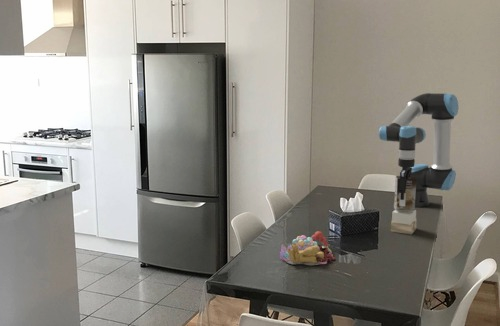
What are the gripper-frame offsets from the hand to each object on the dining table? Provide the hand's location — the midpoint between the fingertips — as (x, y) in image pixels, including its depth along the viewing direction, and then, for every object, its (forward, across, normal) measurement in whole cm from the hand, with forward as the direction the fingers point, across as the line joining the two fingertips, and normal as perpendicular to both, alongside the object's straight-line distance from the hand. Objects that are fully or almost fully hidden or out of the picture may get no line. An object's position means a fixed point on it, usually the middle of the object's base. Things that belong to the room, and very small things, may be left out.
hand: (404, 203), depth 260 cm
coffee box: (+3, 0, 0) cm, 3 cm away
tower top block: (+9, 0, 0) cm, 9 cm away
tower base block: (+14, 0, 0) cm, 14 cm away
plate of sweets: (+14, +54, -28) cm, 63 cm away
